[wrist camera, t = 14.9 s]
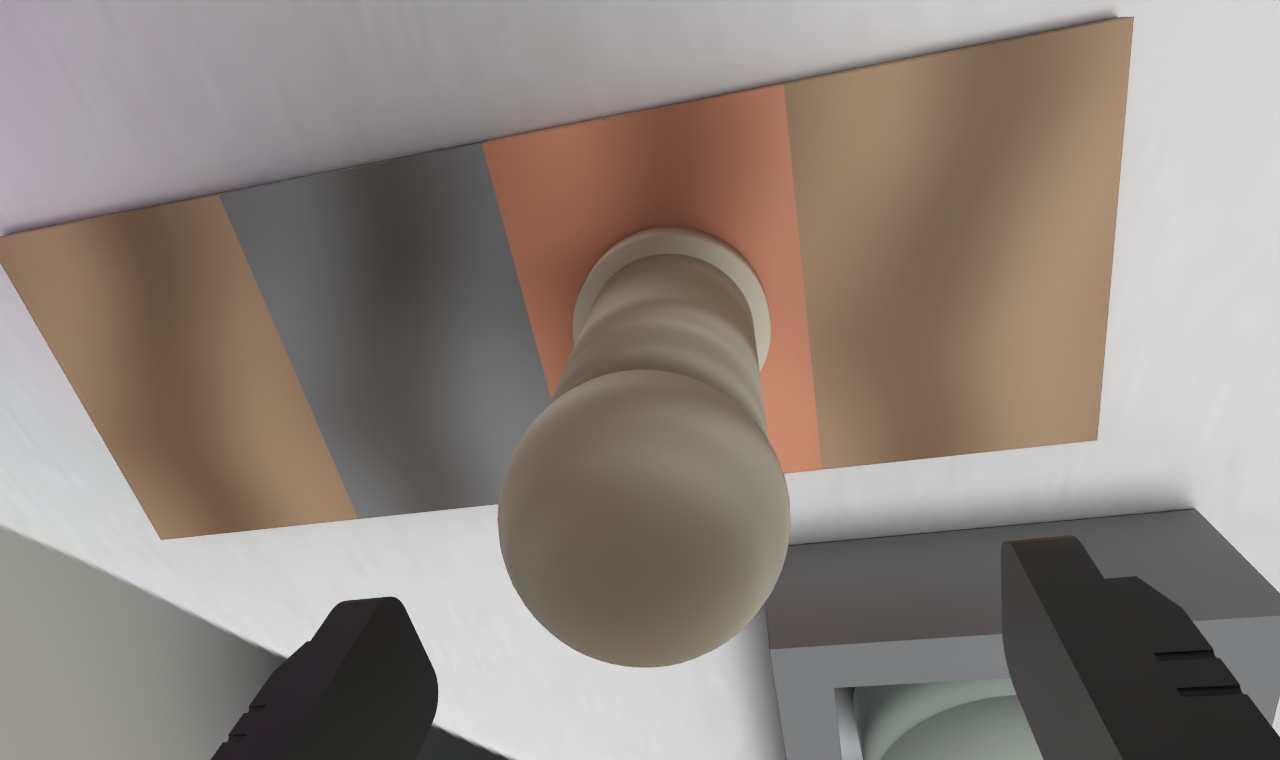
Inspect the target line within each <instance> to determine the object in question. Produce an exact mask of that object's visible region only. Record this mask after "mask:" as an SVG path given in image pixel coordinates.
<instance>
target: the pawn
mask: <svg viewBox="0 0 1280 760" xmlns="http://www.w3.org/2000/svg"><path fill="white" fill-rule="evenodd" d="M770 337H771V324H770V316H769V311H768V305H767V300H766V295H765V292H764V289H763V286H762V283H761V281H760V279H759V277H758V275H757V273H756V271H755V270H754V268H753V267H752V266H751V264H750V263H749V261H748V260H747V259H746V258H745V257H744V256H743V255H742V254H741V253H740V252H739V251H738V250H737V249H736V248H734V247H733V246H732V245H731V244H729V243H728V242H726V241H724V240H723V239H721V238H719V237H717V236H715V235H713V234H711V233H708V232H706V231H702V230H699V229H696V228H690V227H684V226H662V227H654V228H650V229H646V230H642V231H640V232H637V233H634V234H632V235H630V236H628V237H626V238H624V239H622V240H620V241H619V242H618V243H616V244H615V245H614V246H612V247H611V248H610V249H609V250H608V251H607V252H605V253H604V254H603V255H602V256H601V258H600V259H599V260H598V261H597V263H596V264H595V265H594V267H593V268H592V270H591V272H590V274H589V275H588V277H587V279H586V281H585V283H584V285H583V287H582V289H581V291H580V294H579V296H578V299H577V301H576V305H575V309H574V315H573V339H574V345H575V346H574V349H573V351H572V353H571V355H570V358H569V360H568V362H567V364H566V367H565V369H564V371H563V373H562V376H561V378H560V380H559V382H558V385H557V387H556V389H555V391H554V394H553V396H552V398H551V400H550V403H549V405H548V407H547V408H546V409H545V410H544V411H543V412H542V413H540V414H539V415H538V416H537V418H536V419H535V420H534V421H533V422H532V424H531V425H530V426H529V427H528V428H527V430H526V431H525V433H524V435H523V436H522V438H521V439H520V441H519V443H518V444H517V446H516V448H515V449H514V451H513V453H512V456H511V458H510V461H509V463H508V466H507V468H506V471H505V474H504V477H503V481H502V486H501V490H500V496H499V506H498V529H499V539H500V547H501V551H502V555H503V559H504V563H505V566H506V569H507V572H508V574H509V577H510V579H511V581H512V584H513V586H514V588H515V589H516V591H517V593H518V594H519V596H520V598H521V599H522V601H523V602H524V604H525V606H526V607H527V608H528V610H529V611H530V612H531V614H532V615H533V616H534V617H535V618H536V619H537V620H538V621H539V622H540V623H541V624H542V625H543V626H544V627H545V628H546V629H547V630H548V631H549V632H550V633H551V634H553V635H554V636H555V637H556V638H558V639H559V640H560V641H561V642H563V643H565V644H566V645H568V646H569V647H571V648H572V649H574V650H576V651H578V652H580V653H582V654H584V655H587V656H589V657H592V658H594V659H597V660H600V661H604V662H607V663H611V664H616V665H621V666H628V667H661V666H669V665H674V664H678V663H682V662H685V661H688V660H691V659H694V658H697V657H699V656H701V655H703V654H706V653H708V652H710V651H712V650H714V649H716V648H718V647H719V646H721V645H722V644H724V643H726V642H727V641H728V640H730V639H731V638H732V637H733V636H735V635H736V634H737V633H738V632H739V631H741V630H742V629H743V628H744V627H745V626H746V625H747V624H748V623H749V622H750V621H751V620H752V619H753V618H754V617H755V616H756V614H757V613H758V611H759V610H760V609H761V607H762V606H763V604H764V603H765V601H766V600H767V599H768V597H769V596H770V594H771V592H772V590H773V588H774V586H775V584H776V582H777V580H778V577H779V575H780V573H781V570H782V567H783V564H784V561H785V557H786V554H787V548H788V543H789V535H790V527H791V526H790V501H789V494H788V489H787V484H786V480H785V477H784V473H783V470H782V468H781V465H780V462H779V460H778V457H777V455H776V453H775V451H774V450H773V448H772V446H771V444H770V442H769V441H768V435H767V427H766V419H765V411H764V403H763V395H762V387H761V379H760V371H761V369H762V368H763V365H764V362H765V360H766V357H767V354H768V350H769V346H770Z"/></svg>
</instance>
